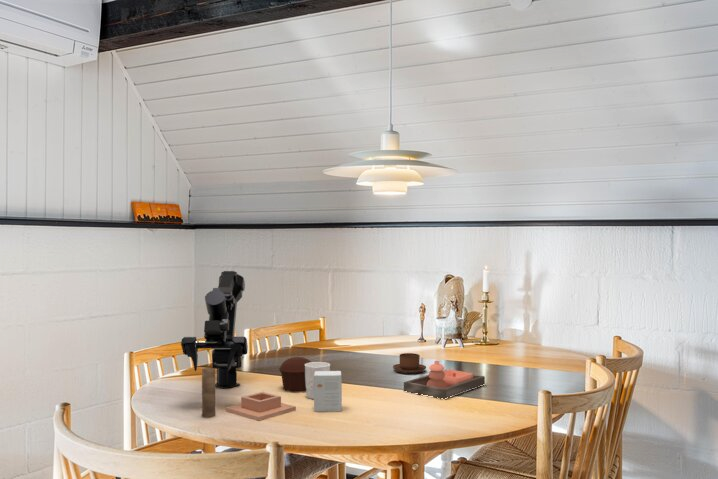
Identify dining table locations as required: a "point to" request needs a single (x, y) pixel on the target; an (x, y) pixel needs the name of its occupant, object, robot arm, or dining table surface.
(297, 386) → the muffin
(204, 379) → the thick brown pillar
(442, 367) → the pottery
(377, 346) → the dining table surface
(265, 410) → the pink square stand base
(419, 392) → the dark grey tray
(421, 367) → the cup and saucer
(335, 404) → the small box
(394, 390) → the dining table surface
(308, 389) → the white cup
